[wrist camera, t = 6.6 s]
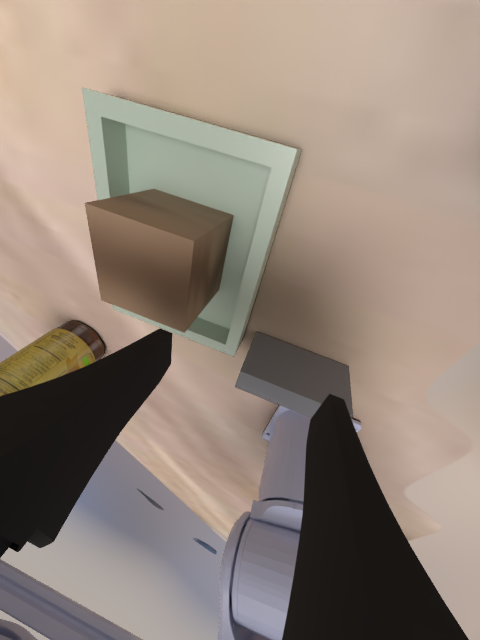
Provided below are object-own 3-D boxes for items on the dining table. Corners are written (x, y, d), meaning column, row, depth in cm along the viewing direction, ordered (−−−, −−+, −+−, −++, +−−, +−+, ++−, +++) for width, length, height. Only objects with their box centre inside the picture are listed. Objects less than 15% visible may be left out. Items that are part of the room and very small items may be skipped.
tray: (242, 339, 23) (234, 357, 21) (130, 296, 24) (113, 308, 22) (302, 149, 13) (297, 149, 11) (114, 95, 15) (81, 87, 13)
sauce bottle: (96, 362, 33) (-111, 549, 18) (58, 330, 31) (-209, 505, 16) (116, 347, 30) (-120, 563, 14) (75, 309, 28) (-247, 509, 12)
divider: (337, 380, 22) (339, 429, 18) (251, 346, 23) (234, 386, 19) (348, 366, 21) (353, 416, 17) (256, 331, 22) (240, 371, 18)
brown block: (219, 289, 20) (184, 332, 15) (154, 265, 20) (101, 300, 16) (233, 215, 16) (194, 241, 11) (153, 188, 17) (84, 203, 12)
